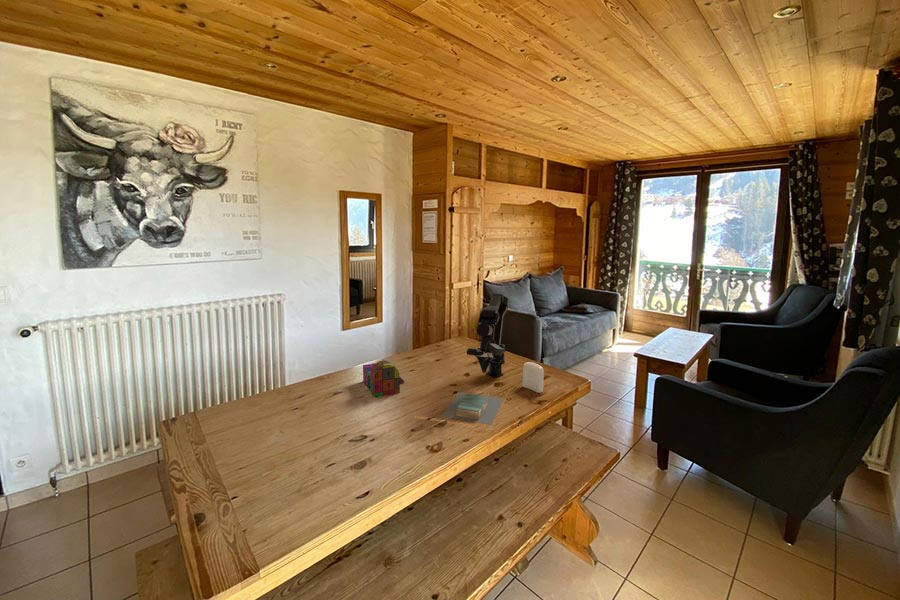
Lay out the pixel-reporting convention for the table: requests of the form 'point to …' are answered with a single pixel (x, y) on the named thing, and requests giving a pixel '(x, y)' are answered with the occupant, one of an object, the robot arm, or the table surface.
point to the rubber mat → (486, 416)
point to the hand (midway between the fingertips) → (483, 372)
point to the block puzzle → (382, 378)
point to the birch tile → (472, 406)
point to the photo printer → (533, 377)
